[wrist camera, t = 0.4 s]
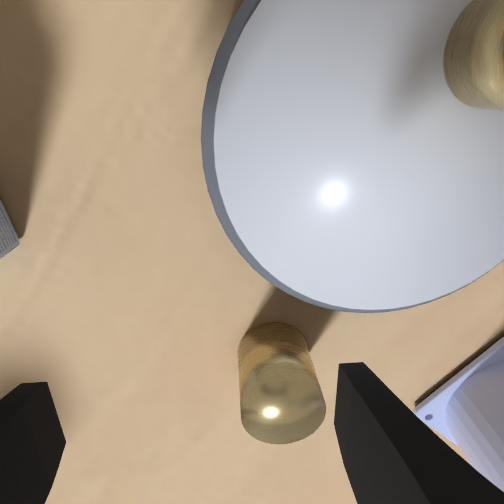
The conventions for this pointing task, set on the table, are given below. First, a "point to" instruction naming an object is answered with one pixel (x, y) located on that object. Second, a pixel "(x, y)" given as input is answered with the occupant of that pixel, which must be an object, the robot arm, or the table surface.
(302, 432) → the cylinder
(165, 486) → the table surface
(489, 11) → the spacer
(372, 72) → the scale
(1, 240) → the medicine box
